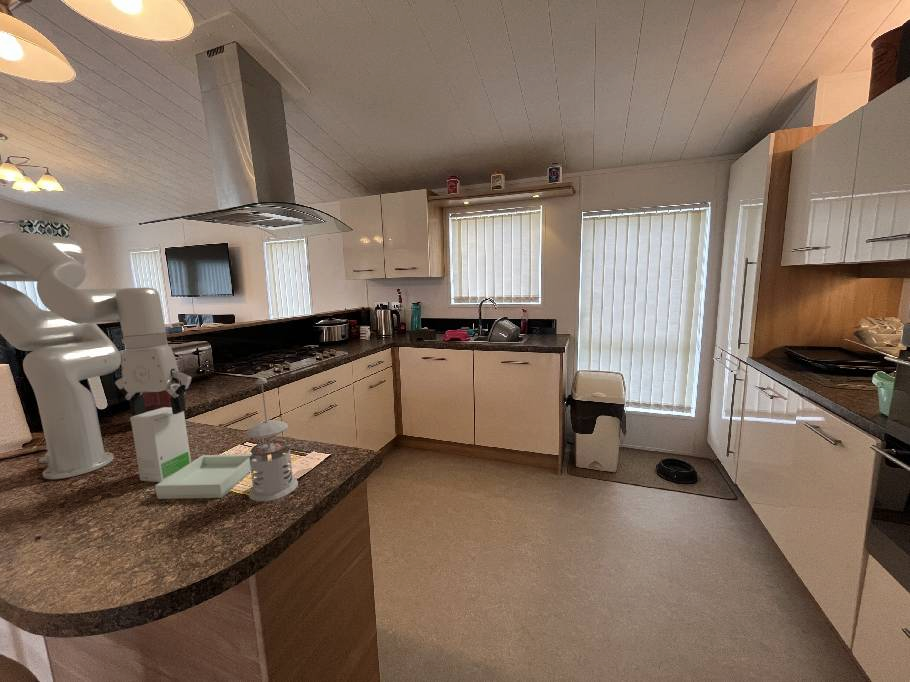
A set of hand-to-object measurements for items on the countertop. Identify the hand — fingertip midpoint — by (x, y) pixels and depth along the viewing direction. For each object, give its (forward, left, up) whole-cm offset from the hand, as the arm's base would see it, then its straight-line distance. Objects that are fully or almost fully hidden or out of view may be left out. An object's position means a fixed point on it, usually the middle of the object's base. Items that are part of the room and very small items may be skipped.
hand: (159, 413), depth 85 cm
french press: (+29, -7, -15) cm, 34 cm away
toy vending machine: (-34, +35, -15) cm, 51 cm away
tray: (+13, -4, -15) cm, 21 cm away
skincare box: (-1, 0, -15) cm, 15 cm away
